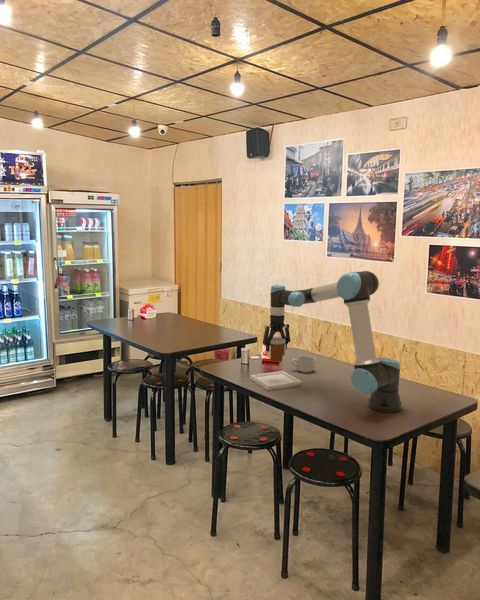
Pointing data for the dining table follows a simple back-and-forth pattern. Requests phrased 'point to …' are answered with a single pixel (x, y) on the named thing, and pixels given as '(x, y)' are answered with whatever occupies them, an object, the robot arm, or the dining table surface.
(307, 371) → the teacup
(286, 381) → the tray
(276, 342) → the disposable coffee cup
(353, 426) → the dining table surface
